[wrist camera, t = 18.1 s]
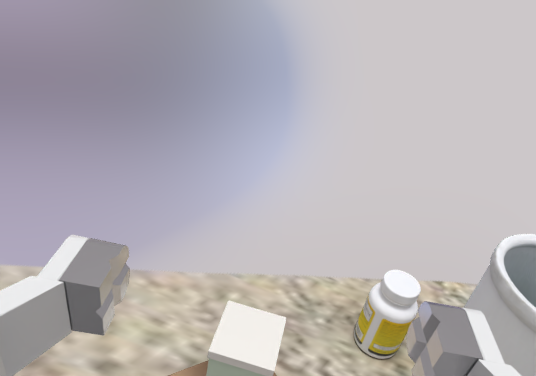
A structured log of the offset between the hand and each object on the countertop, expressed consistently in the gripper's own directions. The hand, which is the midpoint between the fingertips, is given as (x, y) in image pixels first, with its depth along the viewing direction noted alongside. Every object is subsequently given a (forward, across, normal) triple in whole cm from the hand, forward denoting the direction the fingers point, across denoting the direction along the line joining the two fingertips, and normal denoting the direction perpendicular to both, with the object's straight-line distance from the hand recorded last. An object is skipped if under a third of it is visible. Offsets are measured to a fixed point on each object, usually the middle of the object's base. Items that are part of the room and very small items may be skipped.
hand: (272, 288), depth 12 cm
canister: (+12, 0, +28) cm, 31 cm away
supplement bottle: (+25, -16, +32) cm, 44 cm away
